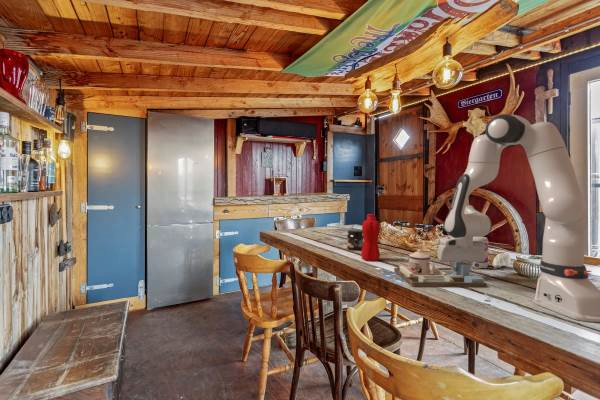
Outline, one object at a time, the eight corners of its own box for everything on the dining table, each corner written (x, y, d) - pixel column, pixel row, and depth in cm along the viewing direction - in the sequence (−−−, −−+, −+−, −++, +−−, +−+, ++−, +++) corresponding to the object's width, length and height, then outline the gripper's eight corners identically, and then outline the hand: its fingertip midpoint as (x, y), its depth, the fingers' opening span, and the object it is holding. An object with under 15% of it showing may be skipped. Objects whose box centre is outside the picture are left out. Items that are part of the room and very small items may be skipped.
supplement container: (343, 248, 205) (343, 229, 205) (357, 247, 210) (357, 229, 209) (352, 251, 196) (353, 232, 195) (366, 250, 200) (367, 231, 200)
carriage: (471, 280, 135) (472, 266, 135) (409, 280, 135) (410, 266, 135) (455, 272, 149) (456, 259, 149) (399, 271, 149) (399, 259, 149)
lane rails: (486, 287, 127) (486, 283, 127) (411, 286, 127) (412, 282, 127) (457, 271, 150) (457, 268, 150) (394, 271, 150) (394, 267, 150)
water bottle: (384, 261, 169) (384, 214, 168) (363, 261, 169) (364, 214, 168) (379, 257, 178) (380, 213, 177) (360, 257, 179) (361, 213, 178)
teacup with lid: (404, 274, 144) (404, 249, 144) (416, 271, 150) (417, 247, 149) (427, 281, 135) (428, 253, 134) (440, 277, 140) (440, 251, 139)
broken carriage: (485, 286, 128) (485, 279, 128) (423, 285, 128) (423, 279, 128) (477, 282, 134) (477, 275, 133) (418, 281, 133) (418, 275, 133)
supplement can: (490, 269, 154) (491, 239, 154) (471, 268, 156) (472, 238, 155) (484, 265, 162) (485, 236, 162) (466, 264, 164) (467, 235, 163)
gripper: (480, 239, 145) (479, 269, 145) (436, 239, 145) (435, 269, 145) (489, 241, 138) (488, 273, 139) (442, 241, 138) (441, 273, 139)
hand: (460, 271), depth 142 cm, fingers open, 4 cm apart
